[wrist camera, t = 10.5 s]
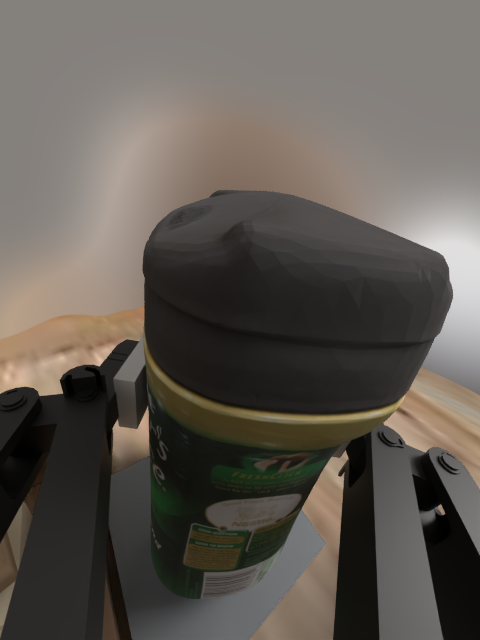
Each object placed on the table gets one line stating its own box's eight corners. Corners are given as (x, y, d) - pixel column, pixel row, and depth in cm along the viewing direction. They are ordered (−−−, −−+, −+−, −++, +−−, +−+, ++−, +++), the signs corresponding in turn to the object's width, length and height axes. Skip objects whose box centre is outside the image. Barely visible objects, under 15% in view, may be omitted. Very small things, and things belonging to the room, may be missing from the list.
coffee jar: (161, 433, 19) (168, 168, 10) (253, 431, 21) (331, 203, 12) (133, 623, 11) (36, 138, 2) (288, 593, 13) (626, 266, 4)
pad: (230, 418, 25) (231, 414, 24) (323, 546, 17) (326, 543, 17) (100, 485, 18) (99, 481, 17) (155, 755, 10) (156, 756, 10)
